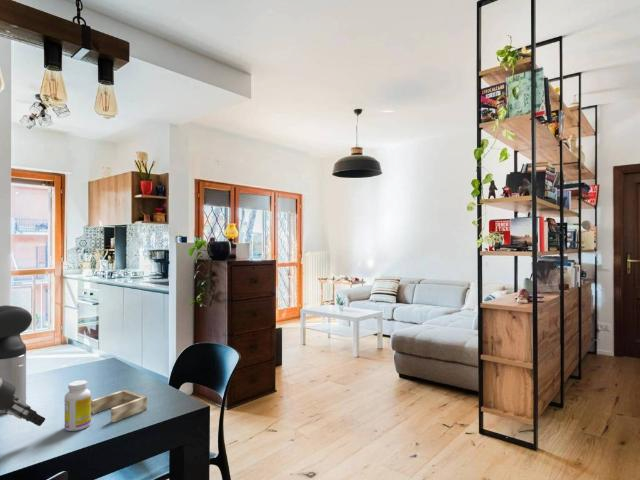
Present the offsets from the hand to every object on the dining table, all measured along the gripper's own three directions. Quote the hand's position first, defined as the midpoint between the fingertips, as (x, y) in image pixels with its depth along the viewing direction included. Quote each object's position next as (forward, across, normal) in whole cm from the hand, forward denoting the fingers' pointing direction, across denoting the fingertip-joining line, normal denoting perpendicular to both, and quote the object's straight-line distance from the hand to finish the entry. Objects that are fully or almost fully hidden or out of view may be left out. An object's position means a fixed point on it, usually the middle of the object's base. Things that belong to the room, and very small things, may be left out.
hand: (41, 422), depth 110 cm
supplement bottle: (+10, 0, +3) cm, 11 cm away
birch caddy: (+19, 0, +12) cm, 22 cm away
